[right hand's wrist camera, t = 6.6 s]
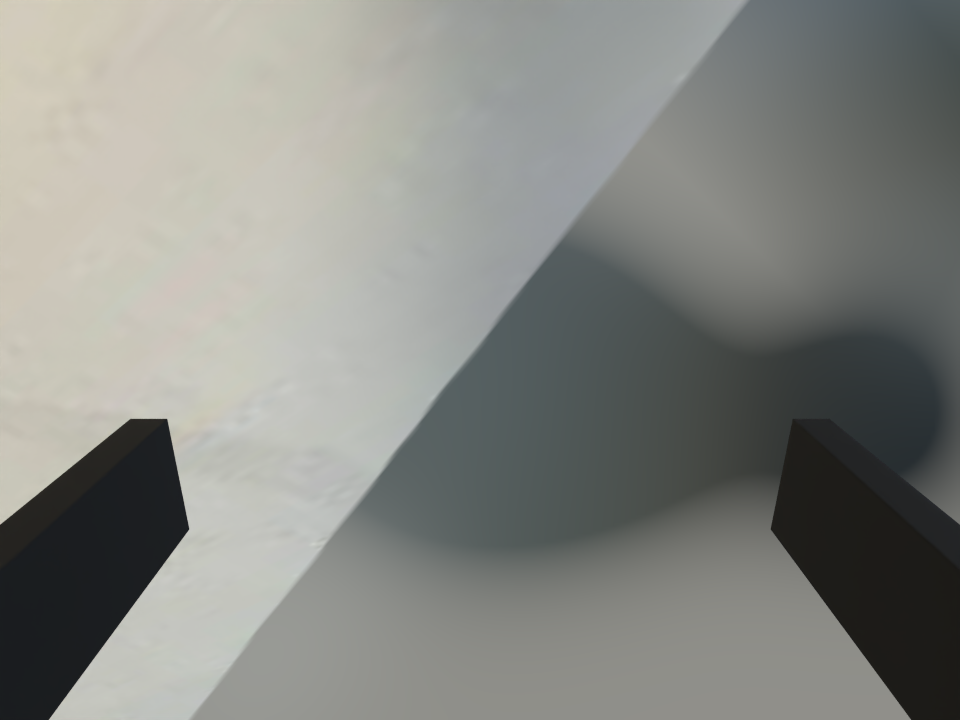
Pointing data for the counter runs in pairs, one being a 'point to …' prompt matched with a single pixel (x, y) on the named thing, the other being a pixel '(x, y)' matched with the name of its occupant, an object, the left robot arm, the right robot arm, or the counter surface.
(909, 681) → the right robot arm
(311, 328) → the counter surface
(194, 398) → the counter surface
